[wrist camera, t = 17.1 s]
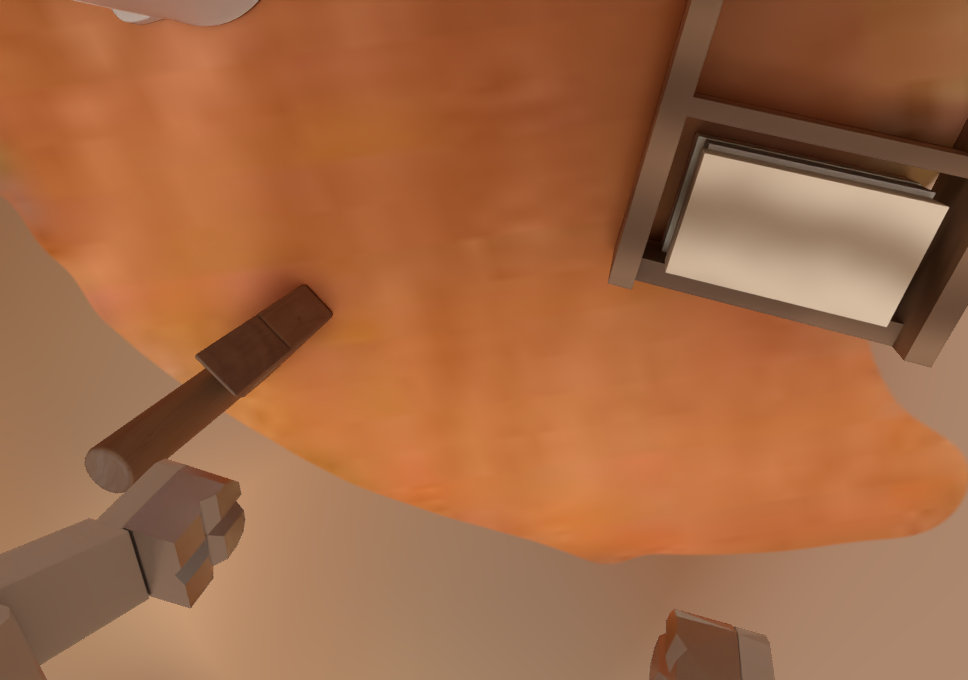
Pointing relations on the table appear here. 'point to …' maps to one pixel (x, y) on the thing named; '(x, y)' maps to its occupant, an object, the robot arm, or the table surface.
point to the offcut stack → (799, 228)
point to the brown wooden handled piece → (207, 389)
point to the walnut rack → (963, 169)
